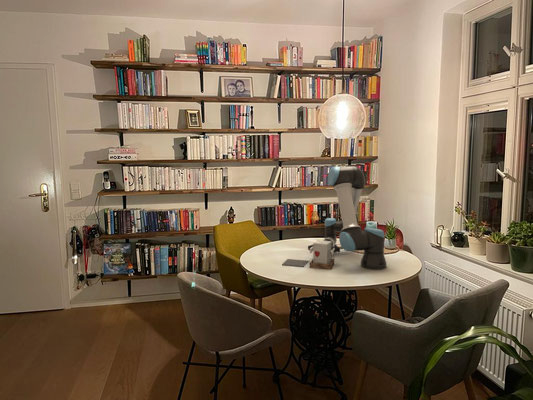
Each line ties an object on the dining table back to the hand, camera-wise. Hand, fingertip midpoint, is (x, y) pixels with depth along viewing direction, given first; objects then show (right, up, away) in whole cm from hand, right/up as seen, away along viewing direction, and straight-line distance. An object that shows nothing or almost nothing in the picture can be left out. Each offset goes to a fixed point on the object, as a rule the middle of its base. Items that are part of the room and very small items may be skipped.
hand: (321, 251), depth 229 cm
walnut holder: (+1, -9, +2) cm, 9 cm away
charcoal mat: (-15, -8, +8) cm, 19 cm away
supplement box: (+1, -9, +2) cm, 9 cm away
